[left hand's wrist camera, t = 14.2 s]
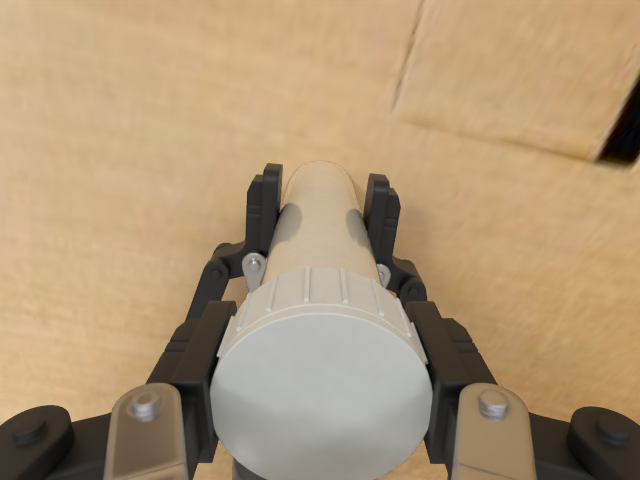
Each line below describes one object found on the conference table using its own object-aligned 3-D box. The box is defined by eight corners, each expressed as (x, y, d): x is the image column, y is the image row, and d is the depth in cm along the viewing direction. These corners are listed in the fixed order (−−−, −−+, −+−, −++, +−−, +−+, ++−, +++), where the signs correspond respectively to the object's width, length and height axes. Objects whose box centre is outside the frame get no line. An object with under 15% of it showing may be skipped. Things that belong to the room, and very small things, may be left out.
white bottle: (338, 235, 27) (367, 481, 11) (277, 212, 27) (208, 435, 10) (364, 175, 26) (444, 353, 9) (300, 150, 25) (263, 292, 9)
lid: (369, 443, 13) (379, 514, 11) (203, 393, 12) (178, 460, 10) (449, 303, 11) (479, 357, 9) (260, 235, 10) (245, 276, 8)
